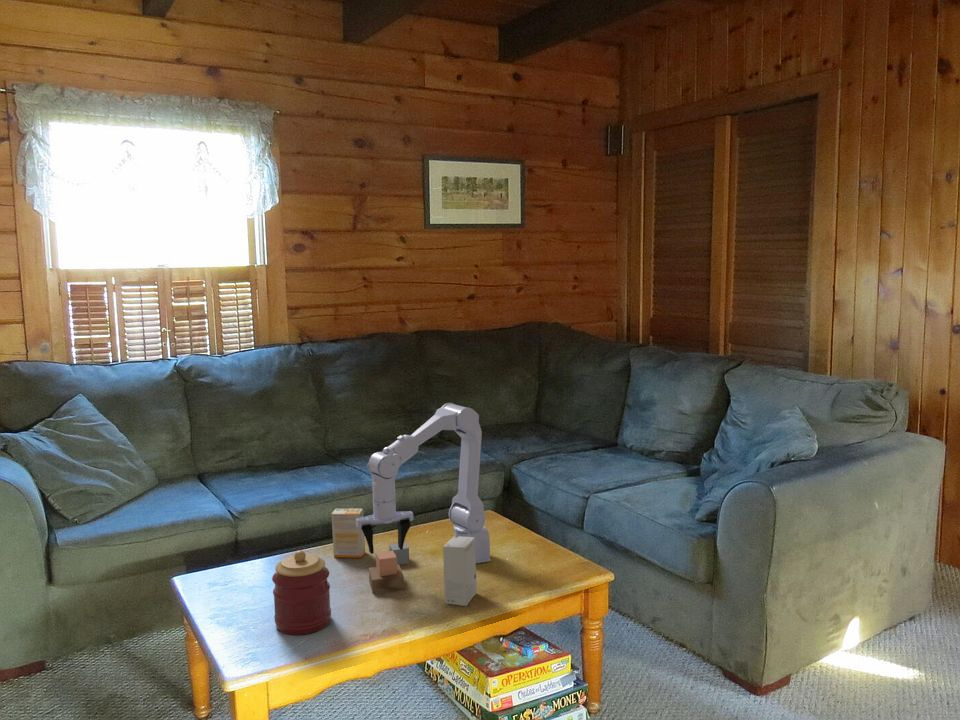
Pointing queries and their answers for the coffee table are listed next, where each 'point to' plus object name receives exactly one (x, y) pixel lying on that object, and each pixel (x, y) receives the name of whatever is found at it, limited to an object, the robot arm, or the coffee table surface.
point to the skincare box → (459, 570)
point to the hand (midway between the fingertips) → (386, 550)
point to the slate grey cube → (400, 553)
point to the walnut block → (386, 581)
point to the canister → (301, 594)
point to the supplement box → (347, 533)
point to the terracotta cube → (386, 563)
